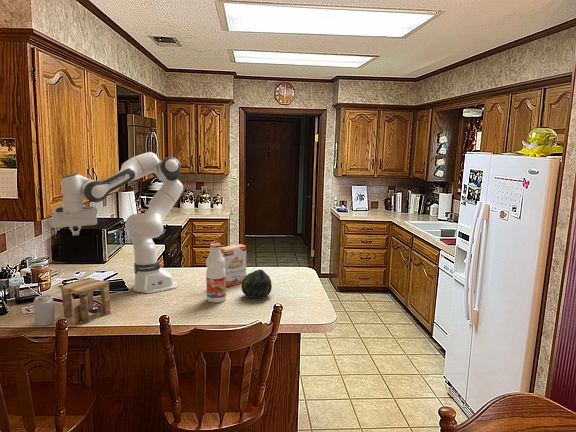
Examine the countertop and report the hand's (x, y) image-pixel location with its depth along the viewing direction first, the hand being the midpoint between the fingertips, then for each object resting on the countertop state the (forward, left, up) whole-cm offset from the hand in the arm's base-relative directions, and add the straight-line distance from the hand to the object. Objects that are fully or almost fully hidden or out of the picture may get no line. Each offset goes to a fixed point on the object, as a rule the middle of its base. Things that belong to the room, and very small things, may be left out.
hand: (76, 234), depth 216 cm
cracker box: (-76, +12, -31) cm, 83 cm away
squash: (-82, +35, -31) cm, 94 cm away
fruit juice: (-62, +32, -31) cm, 76 cm away
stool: (-4, +30, -31) cm, 43 cm away
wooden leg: (-6, +35, -31) cm, 47 cm away
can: (+12, +33, -31) cm, 47 cm away
